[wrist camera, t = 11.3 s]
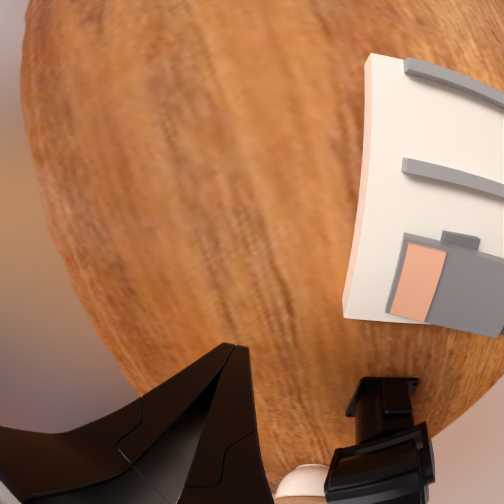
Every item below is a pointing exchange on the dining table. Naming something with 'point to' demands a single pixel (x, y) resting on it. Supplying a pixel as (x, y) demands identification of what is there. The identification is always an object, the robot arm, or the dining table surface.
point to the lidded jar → (303, 485)
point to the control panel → (423, 173)
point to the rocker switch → (448, 286)
